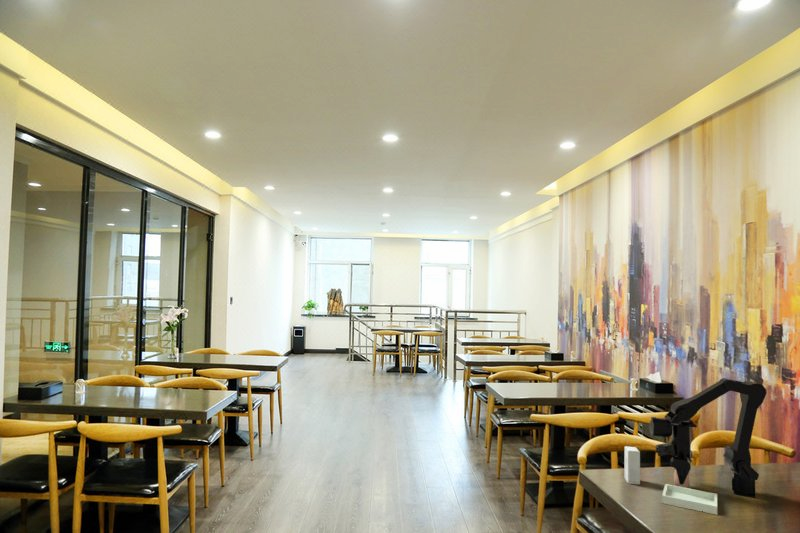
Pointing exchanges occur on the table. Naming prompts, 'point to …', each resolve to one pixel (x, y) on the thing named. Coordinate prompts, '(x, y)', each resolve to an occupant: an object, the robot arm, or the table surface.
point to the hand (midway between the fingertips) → (681, 481)
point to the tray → (690, 498)
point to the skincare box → (632, 465)
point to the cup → (686, 483)
